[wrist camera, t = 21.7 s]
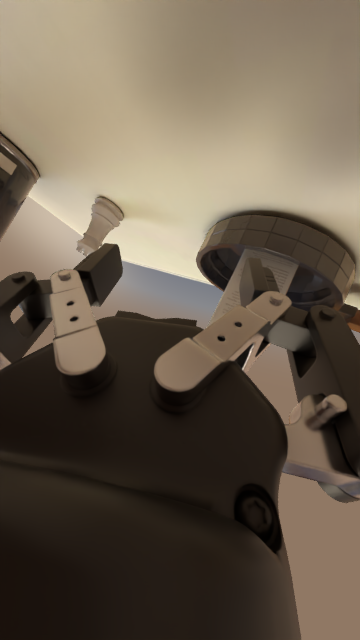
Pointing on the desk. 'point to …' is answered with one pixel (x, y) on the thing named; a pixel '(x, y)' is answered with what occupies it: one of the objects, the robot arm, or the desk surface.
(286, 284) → the small box
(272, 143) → the desk surface
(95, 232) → the rook chess piece
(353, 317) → the pan handle
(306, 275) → the pan
